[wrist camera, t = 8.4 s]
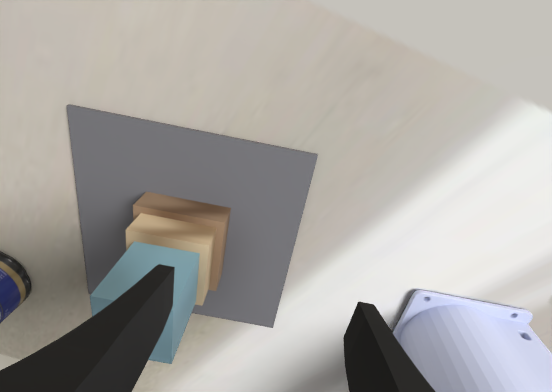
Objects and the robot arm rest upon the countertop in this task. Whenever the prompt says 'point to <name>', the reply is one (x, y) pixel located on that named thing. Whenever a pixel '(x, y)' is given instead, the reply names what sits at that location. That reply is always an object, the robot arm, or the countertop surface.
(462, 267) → the countertop surface
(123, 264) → the block
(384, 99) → the countertop surface
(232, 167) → the mat
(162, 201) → the tower base
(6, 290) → the pill bottle
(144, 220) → the tower mid
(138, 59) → the countertop surface
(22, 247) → the countertop surface
